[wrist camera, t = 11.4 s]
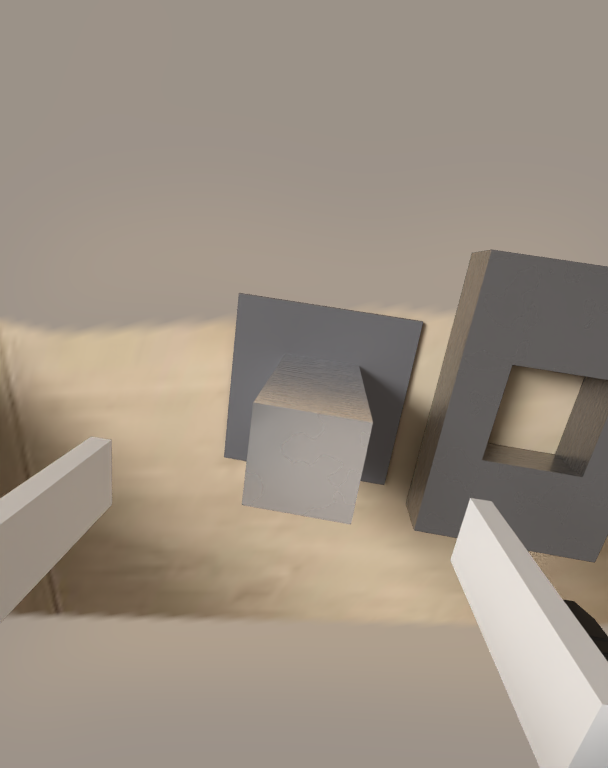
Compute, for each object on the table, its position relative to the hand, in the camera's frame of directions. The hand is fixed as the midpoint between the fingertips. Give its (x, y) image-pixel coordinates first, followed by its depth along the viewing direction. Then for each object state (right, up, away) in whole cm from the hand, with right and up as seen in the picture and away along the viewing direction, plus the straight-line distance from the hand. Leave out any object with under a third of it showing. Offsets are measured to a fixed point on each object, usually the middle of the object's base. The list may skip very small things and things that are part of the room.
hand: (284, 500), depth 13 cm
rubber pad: (+2, +4, +12) cm, 13 cm away
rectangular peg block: (+2, +4, +12) cm, 13 cm away
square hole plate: (+16, +3, +11) cm, 20 cm away
